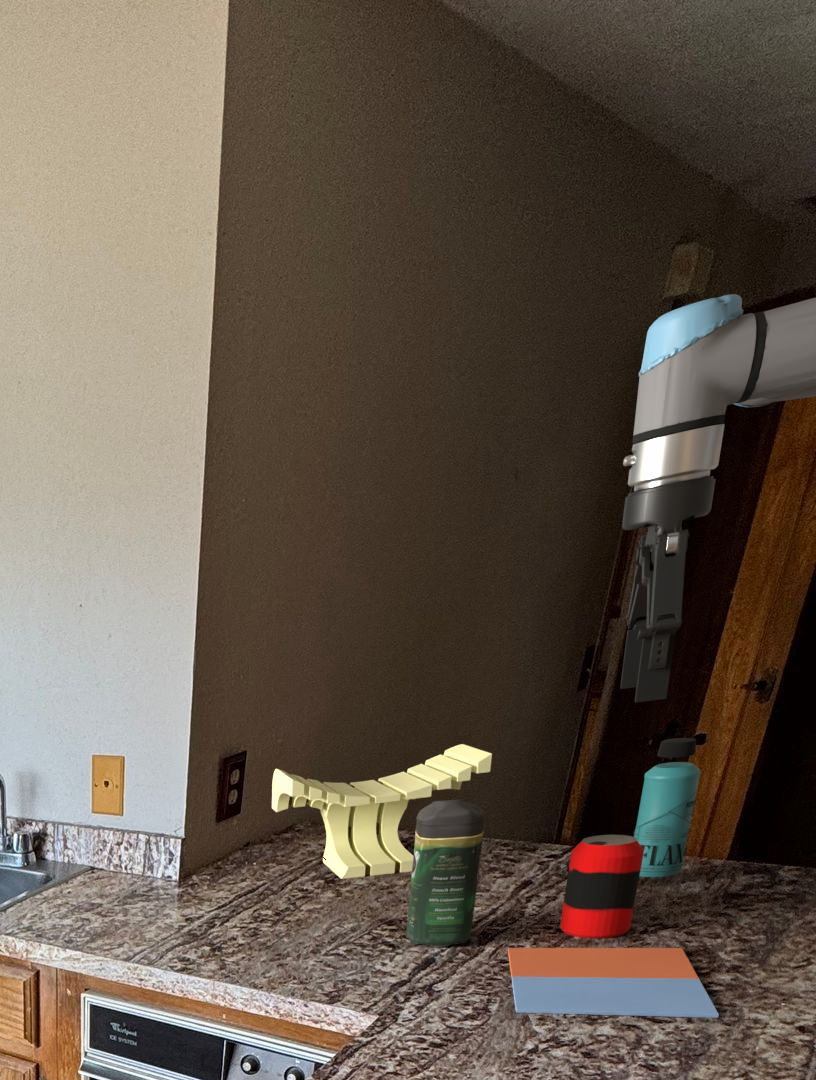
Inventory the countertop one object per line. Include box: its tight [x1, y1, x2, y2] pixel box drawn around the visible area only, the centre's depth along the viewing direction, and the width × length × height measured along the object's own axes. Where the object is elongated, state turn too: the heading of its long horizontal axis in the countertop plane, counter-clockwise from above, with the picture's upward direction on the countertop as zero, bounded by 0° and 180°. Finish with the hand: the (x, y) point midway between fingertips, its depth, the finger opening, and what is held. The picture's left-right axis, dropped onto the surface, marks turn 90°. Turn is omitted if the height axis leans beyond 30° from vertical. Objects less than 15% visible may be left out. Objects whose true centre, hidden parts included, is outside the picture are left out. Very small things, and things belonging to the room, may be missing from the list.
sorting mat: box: [507, 947, 720, 1019], centre depth 117 cm, size 18×22×1 cm
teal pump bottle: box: [633, 737, 702, 878], centre depth 141 cm, size 6×7×20 cm
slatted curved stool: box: [271, 743, 493, 880], centre depth 172 cm, size 30×16×18 cm, turn 80°
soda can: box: [559, 834, 644, 939], centre depth 129 cm, size 8×8×12 cm
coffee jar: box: [406, 799, 485, 948], centre depth 135 cm, size 10×8×19 cm
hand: (642, 693), depth 114 cm, fingers open, 13 cm apart
